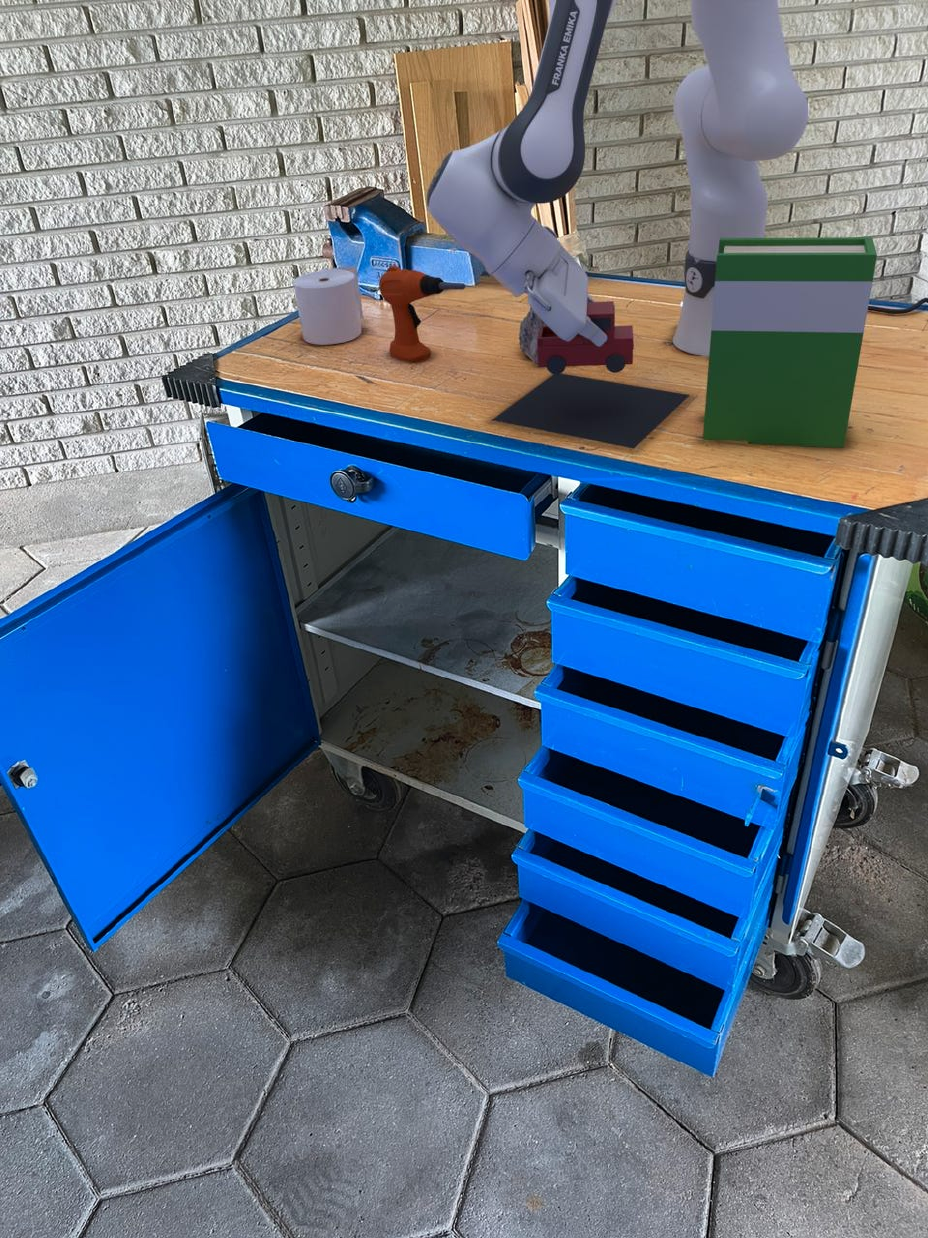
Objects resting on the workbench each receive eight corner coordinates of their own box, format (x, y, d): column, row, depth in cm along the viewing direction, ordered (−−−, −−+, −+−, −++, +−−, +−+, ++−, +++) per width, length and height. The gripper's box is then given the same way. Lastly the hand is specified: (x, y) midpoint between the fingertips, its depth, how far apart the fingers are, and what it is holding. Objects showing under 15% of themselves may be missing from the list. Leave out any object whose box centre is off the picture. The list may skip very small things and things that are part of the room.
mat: (555, 374, 150) (555, 372, 149) (689, 397, 139) (689, 394, 139) (491, 422, 137) (491, 419, 137) (633, 450, 127) (633, 448, 126)
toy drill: (466, 369, 150) (450, 270, 143) (385, 360, 162) (365, 269, 155) (486, 359, 153) (471, 262, 145) (405, 351, 165) (387, 261, 158)
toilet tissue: (297, 347, 168) (287, 289, 163) (310, 323, 178) (301, 268, 172) (357, 344, 167) (349, 285, 162) (367, 320, 177) (359, 265, 171)
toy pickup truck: (538, 375, 132) (536, 317, 127) (540, 359, 136) (538, 302, 132) (633, 372, 130) (634, 313, 125) (632, 356, 135) (634, 299, 130)
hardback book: (702, 441, 127) (717, 255, 113) (705, 418, 133) (719, 237, 119) (843, 447, 123) (877, 254, 109) (840, 423, 129) (872, 236, 115)
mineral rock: (526, 336, 164) (524, 276, 158) (587, 339, 161) (587, 278, 155) (502, 364, 155) (499, 302, 149) (567, 368, 151) (567, 304, 145)
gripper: (541, 267, 116) (621, 343, 120) (549, 222, 132) (620, 291, 137) (506, 305, 119) (586, 378, 123) (518, 257, 135) (588, 323, 140)
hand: (604, 332), depth 130 cm, fingers closed on toy pickup truck, 5 cm apart
